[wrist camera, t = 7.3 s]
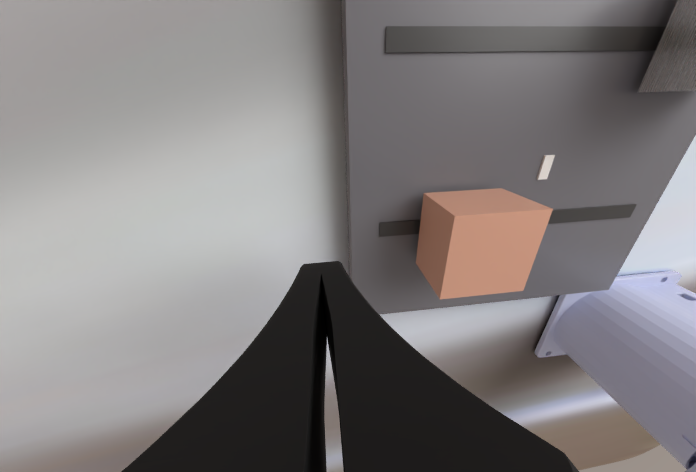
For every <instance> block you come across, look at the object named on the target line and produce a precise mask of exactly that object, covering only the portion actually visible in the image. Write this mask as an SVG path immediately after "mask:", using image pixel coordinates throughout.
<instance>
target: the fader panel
mask: <svg viewBox="0 0 696 472" xmlns="http://www.w3.org/2000/svg"><path fill="white" fill-rule="evenodd" d="M676 2H677V0H341V8H342V42H343V75H344V108H345V141H346V175H347V208H348V241H349V274H350V279H351V280H352V282H353V283H354V285H355V286H356V288H357V289H358V290H359V291H360V293H361V294H362V295H363V297H364V298H365V299H366V300H367V302H368V303H369V304H370V305H371V306H372V307H373V309H374V310H375V311H376V312H377V313H378V314H387V313H396V312H406V311H415V310H424V309H434V308H443V307H453V306H462V305H471V304H481V303H490V302H499V301H509V300H518V299H527V298H537V297H546V296H556V295H565V294H574V293H584V292H593V291H602V290H609V288H610V287H611V285H612V283H613V281H614V280H615V278H616V276H617V274H618V272H619V271H620V269H621V267H622V265H623V263H624V262H625V260H626V258H627V256H628V255H629V253H630V251H631V249H632V247H633V246H634V244H635V242H636V240H637V238H638V237H639V235H640V233H641V231H642V230H643V228H644V226H645V224H646V222H647V221H648V219H649V217H650V215H651V213H652V212H653V210H654V208H655V206H656V204H657V203H658V201H659V199H660V197H661V196H662V194H663V192H664V190H665V188H666V187H667V185H668V183H669V181H670V179H671V178H672V176H673V174H674V172H675V171H676V169H677V167H678V165H679V163H680V162H681V160H682V158H683V156H684V154H685V153H686V151H687V149H688V147H689V146H690V144H691V142H692V140H693V138H694V137H695V135H696V91H681V92H643V93H637V92H638V90H639V88H640V86H641V83H642V81H643V79H644V76H645V74H646V72H647V69H648V67H649V65H650V62H651V60H652V58H653V55H654V53H655V51H656V48H657V46H658V44H659V41H660V39H661V37H662V34H663V32H664V30H665V28H666V25H667V23H668V21H669V18H670V16H671V14H672V11H673V9H674V7H675V4H676ZM496 188H502V189H505V190H507V191H510V192H512V193H515V194H517V195H520V196H522V197H525V198H527V199H530V200H532V201H535V202H537V203H540V204H542V205H544V206H547V207H549V208H552V209H553V211H552V213H551V216H550V219H549V222H548V224H547V227H546V230H545V233H544V235H543V238H542V241H541V244H540V246H539V249H538V252H537V254H536V257H535V260H534V263H533V265H532V268H531V271H530V274H529V276H528V279H527V282H526V285H525V287H524V290H523V291H517V292H507V293H498V294H488V295H478V296H469V297H459V298H449V299H439V297H438V296H437V294H436V293H435V291H434V290H433V288H432V287H431V285H430V284H429V282H428V281H427V279H426V278H425V276H424V275H423V273H422V272H421V270H420V269H419V267H418V266H417V264H416V256H417V248H418V239H419V230H420V221H421V212H422V203H423V194H424V193H432V192H448V191H464V190H480V189H496Z"/></svg>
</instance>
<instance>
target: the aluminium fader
mask: <svg viewBox="0 0 696 472" xmlns="http://www.w3.org/2000/svg"><path fill="white" fill-rule="evenodd" d="M681 91H696V0H677V2H676V4H675V7H674V9H673V11H672V14H671V16H670V18H669V21H668V23H667V25H666V28H665V30H664V32H663V34H662V37H661V39H660V41H659V44H658V46H657V48H656V51H655V53H654V55H653V58H652V60H651V62H650V65H649V67H648V69H647V72H646V74H645V76H644V79H643V81H642V83H641V86H640V88H639V90H638V92H637V93H643V92H681Z"/></svg>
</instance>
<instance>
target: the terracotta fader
mask: <svg viewBox="0 0 696 472" xmlns="http://www.w3.org/2000/svg"><path fill="white" fill-rule="evenodd" d="M552 211H553V209H552V208H549V207H547V206H544V205H542V204H540V203H537V202H535V201H532V200H530V199H527V198H525V197H522V196H520V195H517V194H515V193H512V192H510V191H507V190H505V189H502V188H496V189H480V190H464V191H448V192H432V193H424V194H423V203H422V212H421V221H420V230H419V239H418V248H417V256H416V264H417V266H418V267H419V269H420V270H421V272H422V273H423V275H424V276H425V278H426V279H427V281H428V282H429V284H430V285H431V287H432V288H433V290H434V291H435V293H436V294H437V296H438V297H439V299H449V298H459V297H469V296H478V295H488V294H498V293H507V292H517V291H523V290H524V287H525V285H526V282H527V279H528V276H529V274H530V271H531V268H532V265H533V263H534V260H535V257H536V254H537V252H538V249H539V246H540V244H541V241H542V238H543V235H544V233H545V230H546V227H547V224H548V222H549V219H550V216H551V213H552Z"/></svg>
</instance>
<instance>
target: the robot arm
mask: <svg viewBox="0 0 696 472" xmlns="http://www.w3.org/2000/svg"><path fill="white" fill-rule="evenodd" d="M680 278H681V273H679V272H676V271H666V272H656V273H646V274H636V275H627V276H617V277H616V278H615V280H614V281H613V283H612V285H611V287H610V288H609V290H602V291H593V292H584V293H574V294H565V295H560V296H559V299H558V301H557V303H556V305H555V307H554V310H553V312H552V314H551V316H550V318H549V321H548V323H547V325H546V327H545V329H544V332H543V334H542V336H541V338H540V340H539V343H538V345H537V347H536V349H535V352H534V353H535V354H536V356H537V357H539V358H543V357H551V356H558V355H566V354H567V355H568V356H569V357H570V358H571V359H572V360H573V361H574V362H575V363H576V364H577V365H579V366H580V367H581V368H582V369H583V370H584V371H585V372H586V373H587V374H588V375H589V376H590V377H591V378H592V379H593V380H594V381H595V382H596V383H597V384H598V385H599V386H600V387H601V388H602V389H604V390H605V391H606V392H607V393H608V394H609V395H610V396H611V397H612V398H613V399H614V400H615V401H616V402H617V403H618V404H619V405H620V406H621V407H622V408H623V409H624V410H625V411H626V412H627V413H629V414H630V415H631V416H632V417H633V418H634V419H635V420H636V421H637V422H638V423H639V424H640V425H641V426H642V427H643V428H644V429H645V430H646V431H647V432H648V433H649V434H650V435H651V436H652V437H654V438H655V439H656V440H657V441H658V442H659V443H660V444H661V445H662V446H663V447H664V448H665V449H666V450H667V451H668V452H669V453H670V454H671V455H672V456H673V457H674V458H675V459H676V460H677V461H678V462H680V463H681V464H682V465H683V466H684V467H685V468H686V469H687V471H685V472H696V293H693V292H691V291H689V290H687V289H685V288H683V287H681V286H679V285H677V283H678V281H679V280H680ZM327 338H328V344H329V350H330V357H331V363H332V369H333V375H334V382H335V388H336V394H337V401H338V409H339V418H340V430H341V443H342V455H343V467H344V472H579V471H578V470H577V468H576V467H575V466H574V465H573V464H572V462H571V461H570V460H569V459H568V457H567V456H566V455H565V454H564V453H563V452H562V451H560V450H559V449H557V448H555V447H554V446H552V445H551V444H549V443H548V442H546V441H544V440H543V439H541V438H540V437H538V436H536V435H535V434H533V433H532V432H530V431H529V430H527V429H525V428H524V427H522V426H521V425H519V424H517V423H516V422H514V421H513V420H511V419H509V418H508V417H506V416H505V415H503V414H502V413H500V412H498V411H497V410H495V409H494V408H492V407H491V406H489V405H488V404H486V403H485V402H484V401H482V400H481V399H479V398H478V397H476V396H475V395H474V394H472V393H471V392H469V391H468V390H467V389H465V388H464V387H462V386H461V385H459V384H458V383H457V382H456V381H454V380H453V379H452V378H450V377H449V376H448V375H447V374H445V373H444V372H443V371H441V370H440V369H439V368H438V367H436V366H435V365H434V364H432V363H431V362H430V361H429V360H427V359H426V358H425V357H423V356H422V355H421V354H420V353H419V352H418V351H416V350H415V349H414V348H413V347H412V346H411V345H410V344H408V343H407V342H406V341H405V340H404V339H403V338H402V337H401V336H400V335H399V334H398V333H397V332H395V331H394V330H393V329H392V328H391V327H390V326H389V325H388V324H387V323H386V322H385V321H384V319H383V318H382V317H381V316H380V315H379V314H378V313H377V312H376V311H375V310H374V309H373V307H372V306H371V305H370V304H369V303H368V302H367V300H366V299H365V298H364V297H363V295H362V294H361V293H360V291H359V290H358V289H357V288H356V286H355V285H354V283H353V282H352V280H351V279H350V277H349V276H348V274H347V273H346V271H345V269H344V267H343V265H342V264H341V263H340V262H339V261H335V262H323V263H312V264H303V265H302V267H301V268H300V270H299V272H298V274H297V276H296V278H295V280H294V282H293V284H292V286H291V287H290V289H289V291H288V292H287V294H286V296H285V297H284V299H283V300H282V302H281V304H280V305H279V307H278V308H277V310H276V311H275V313H274V314H273V315H272V317H271V318H270V320H269V321H268V322H267V324H266V325H265V327H264V328H263V329H262V331H261V332H260V333H259V334H258V336H257V337H256V338H255V339H254V341H253V342H252V343H251V344H250V346H249V347H248V348H247V349H246V350H245V351H244V353H243V354H242V355H241V356H240V357H239V359H238V360H237V361H236V362H235V363H234V364H233V365H232V366H231V367H230V368H229V369H228V371H227V372H226V373H225V374H224V375H223V376H222V377H221V378H220V379H219V380H218V381H217V382H216V384H215V385H214V386H213V387H212V388H211V389H210V390H209V391H208V392H207V393H206V394H205V395H204V396H203V397H202V398H201V399H200V400H199V401H198V402H197V403H196V404H195V405H194V406H193V407H191V408H190V409H189V410H188V411H187V412H186V413H185V414H184V415H183V416H182V417H181V418H180V419H179V420H178V421H177V422H176V423H175V424H174V425H172V426H171V427H170V428H169V429H168V430H167V431H166V432H165V433H164V434H163V435H162V436H161V437H160V438H159V439H158V440H157V441H156V442H154V443H153V444H152V445H151V446H150V447H149V448H148V449H147V450H146V451H145V452H143V453H142V454H141V455H140V456H139V457H138V458H137V459H136V460H135V461H133V462H132V463H131V464H130V465H129V466H128V467H126V468H125V469H124V470H123V471H122V472H326V449H325V424H324V396H325V371H326V345H327Z"/></svg>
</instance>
